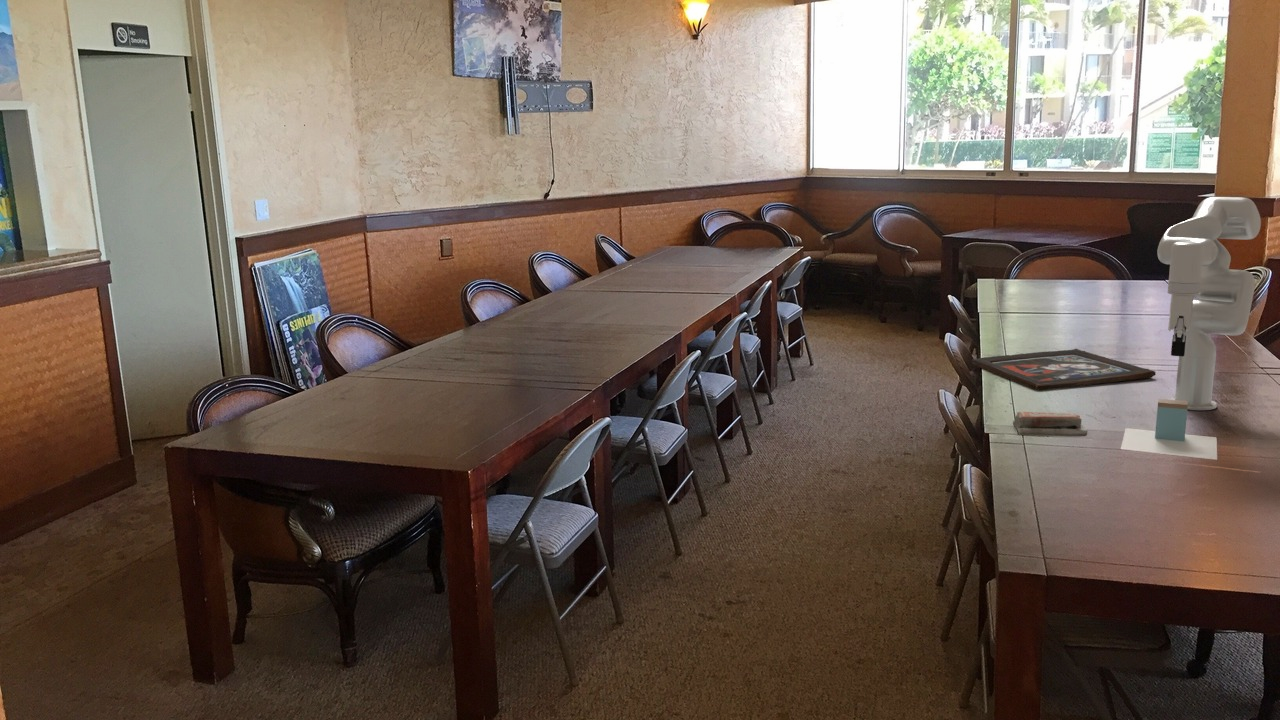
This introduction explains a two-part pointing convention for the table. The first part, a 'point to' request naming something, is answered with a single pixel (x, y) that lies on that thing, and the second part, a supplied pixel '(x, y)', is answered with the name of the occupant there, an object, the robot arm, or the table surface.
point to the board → (1170, 444)
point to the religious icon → (1061, 369)
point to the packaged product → (1049, 423)
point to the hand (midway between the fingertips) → (1177, 352)
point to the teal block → (1171, 419)
